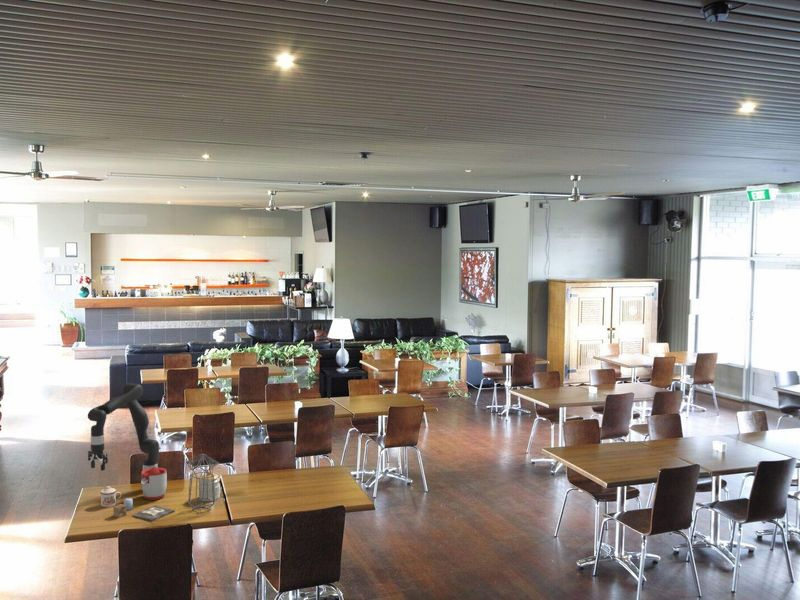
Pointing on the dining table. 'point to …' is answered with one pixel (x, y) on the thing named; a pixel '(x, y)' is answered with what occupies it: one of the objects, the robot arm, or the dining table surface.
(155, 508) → the building board
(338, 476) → the dining table surface
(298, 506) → the dining table surface
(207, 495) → the geometric lantern
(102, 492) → the teacup with lid
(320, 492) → the dining table surface
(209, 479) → the jar
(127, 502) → the pale blue rounded ovoid
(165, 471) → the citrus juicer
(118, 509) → the walnut block
